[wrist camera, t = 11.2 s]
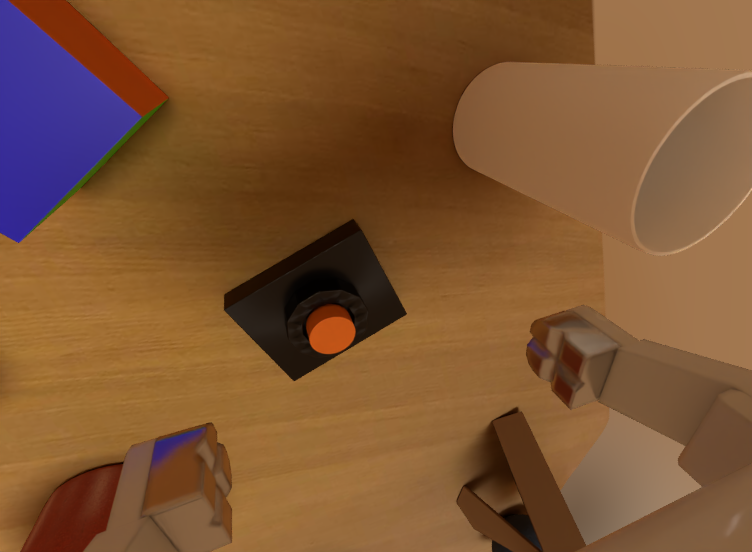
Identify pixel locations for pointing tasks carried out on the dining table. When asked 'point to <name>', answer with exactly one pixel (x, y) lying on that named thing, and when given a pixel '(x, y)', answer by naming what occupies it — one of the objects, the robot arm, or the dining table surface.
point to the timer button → (330, 329)
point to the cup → (615, 145)
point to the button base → (314, 298)
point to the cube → (60, 108)
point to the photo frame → (525, 496)
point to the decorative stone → (523, 527)
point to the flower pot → (75, 512)
